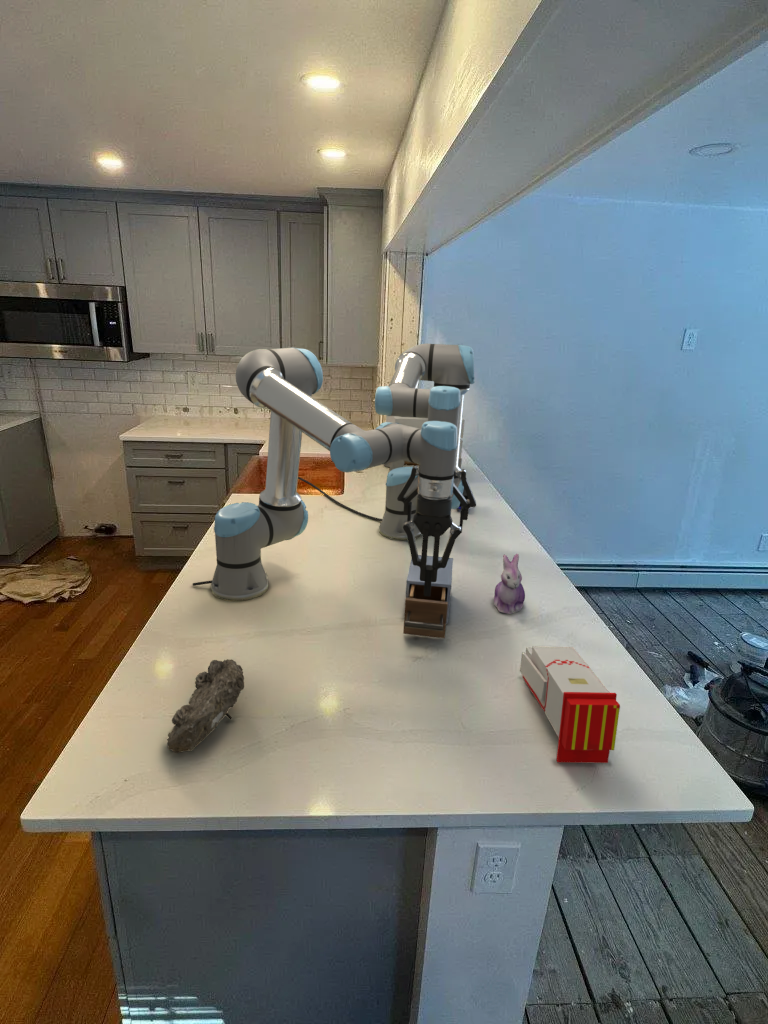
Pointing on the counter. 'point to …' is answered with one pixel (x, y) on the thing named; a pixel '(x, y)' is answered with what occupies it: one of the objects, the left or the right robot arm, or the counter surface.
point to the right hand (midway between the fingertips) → (434, 528)
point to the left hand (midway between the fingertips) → (427, 593)
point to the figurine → (509, 587)
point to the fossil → (206, 705)
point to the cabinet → (442, 581)
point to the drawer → (425, 612)
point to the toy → (572, 703)
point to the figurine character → (465, 498)
